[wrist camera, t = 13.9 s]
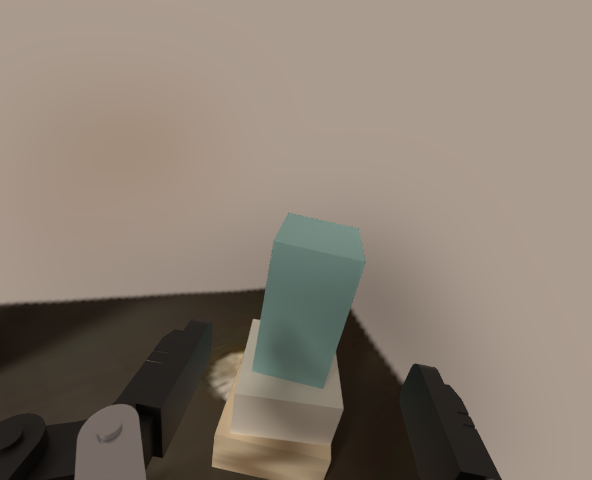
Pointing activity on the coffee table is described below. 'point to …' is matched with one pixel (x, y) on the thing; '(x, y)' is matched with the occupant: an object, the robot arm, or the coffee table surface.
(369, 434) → the coffee table surface
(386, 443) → the coffee table surface
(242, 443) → the tower base block
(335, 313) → the teal block
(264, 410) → the tower top block
